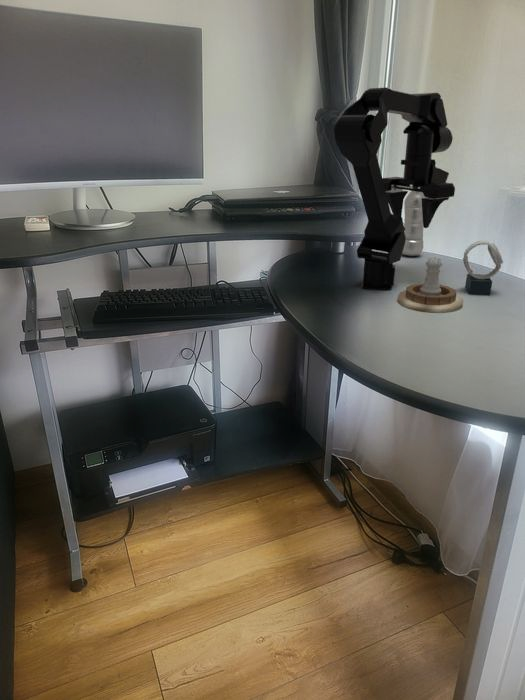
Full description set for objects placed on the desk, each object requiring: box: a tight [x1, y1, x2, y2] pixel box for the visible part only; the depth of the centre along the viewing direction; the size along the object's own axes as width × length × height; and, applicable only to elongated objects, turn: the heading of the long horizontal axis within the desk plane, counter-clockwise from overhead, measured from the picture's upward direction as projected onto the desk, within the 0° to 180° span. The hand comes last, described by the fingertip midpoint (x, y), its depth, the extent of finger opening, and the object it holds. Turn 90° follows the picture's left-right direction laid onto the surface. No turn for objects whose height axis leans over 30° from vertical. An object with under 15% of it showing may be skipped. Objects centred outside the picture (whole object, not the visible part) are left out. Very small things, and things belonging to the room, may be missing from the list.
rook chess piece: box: [419, 257, 443, 296], centre depth 105 cm, size 4×4×8 cm
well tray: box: [397, 282, 464, 314], centre depth 107 cm, size 13×13×3 cm
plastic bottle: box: [402, 185, 428, 257], centre depth 141 cm, size 6×7×20 cm
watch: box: [462, 240, 504, 296], centre depth 112 cm, size 6×8×11 cm
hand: (411, 224), depth 122 cm, fingers open, 9 cm apart
